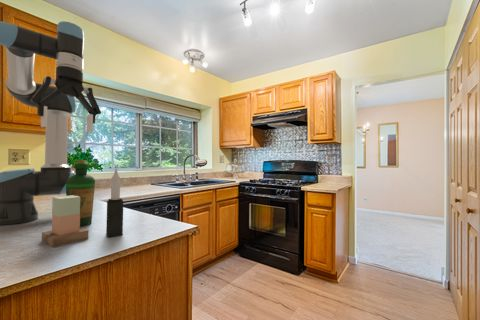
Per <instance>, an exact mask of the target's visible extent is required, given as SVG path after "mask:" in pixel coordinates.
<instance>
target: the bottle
mask: <svg viewBox="0 0 480 320" xmlns="http://www.w3.org/2000/svg"><path fill="white" fill-rule="evenodd" d="M73 169H74V170H75V171H74V172H75V175H73V176H71V177H70V178H68V180H67V181H66V194H65V196H70V195H74V196H79V197H80V227H84V226H87V225H90V224H92V220H93V210H94V199H95V198H94V197H95V188H96V187H95V186H96V179H95V178H94V177H93V176H92V175H90V174H88V169H90V166H89V162H87V160H86V159H77V160H76V162H75V163H74V166H73Z"/></svg>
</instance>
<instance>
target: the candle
mask: <svg viewBox="0 0 480 320" xmlns="http://www.w3.org/2000/svg"><path fill="white" fill-rule="evenodd" d="M118 173H119V172H118V169H117V168H115V169H114V172H113V175H112V176H111V182H110V183H111V185H110V187H111V188H110V198H109V199H108V200H107V202H106V232H105V234H106V237H107V238H116V237H120V236H122V235H124V234H123V230H124V200H123V198H122V197H121V195H120V194H121V176H120V175H119V174H118Z"/></svg>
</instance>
